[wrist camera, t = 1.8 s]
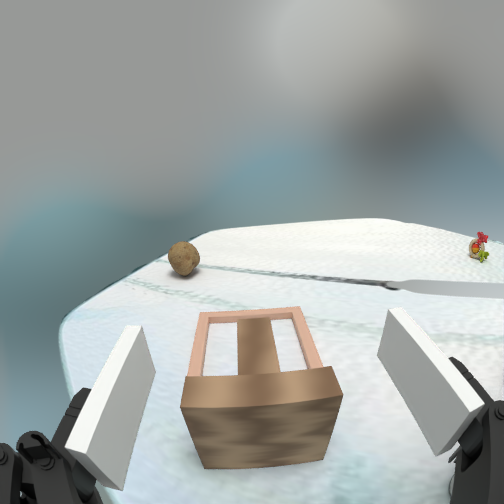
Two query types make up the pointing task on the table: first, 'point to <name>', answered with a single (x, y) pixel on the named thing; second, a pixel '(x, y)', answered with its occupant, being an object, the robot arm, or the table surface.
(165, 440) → the table surface
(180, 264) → the brown round lump
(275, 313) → the dock
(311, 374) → the tee block
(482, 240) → the bird rattle
